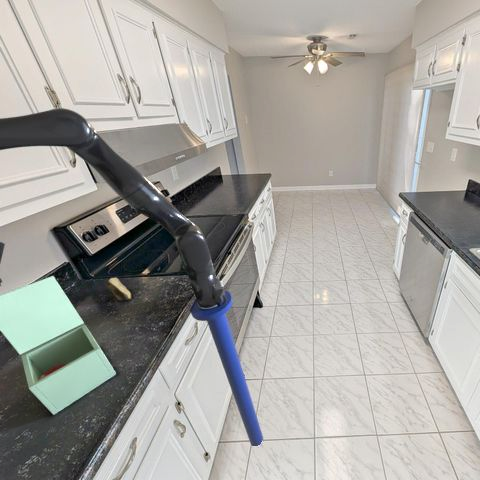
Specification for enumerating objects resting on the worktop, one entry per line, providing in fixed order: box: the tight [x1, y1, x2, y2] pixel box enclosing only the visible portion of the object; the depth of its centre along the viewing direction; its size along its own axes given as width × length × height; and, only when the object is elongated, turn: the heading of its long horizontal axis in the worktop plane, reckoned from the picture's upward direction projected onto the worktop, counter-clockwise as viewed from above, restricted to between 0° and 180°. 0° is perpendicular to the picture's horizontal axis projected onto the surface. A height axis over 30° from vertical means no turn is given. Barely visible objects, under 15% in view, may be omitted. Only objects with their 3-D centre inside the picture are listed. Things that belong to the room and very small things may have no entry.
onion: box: [40, 364, 67, 380], centre depth 70 cm, size 6×6×8 cm
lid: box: [0, 275, 85, 356], centre depth 71 cm, size 17×14×1 cm
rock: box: [104, 276, 132, 301], centre depth 109 cm, size 11×9×10 cm
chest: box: [20, 323, 117, 416], centre depth 72 cm, size 16×14×11 cm
